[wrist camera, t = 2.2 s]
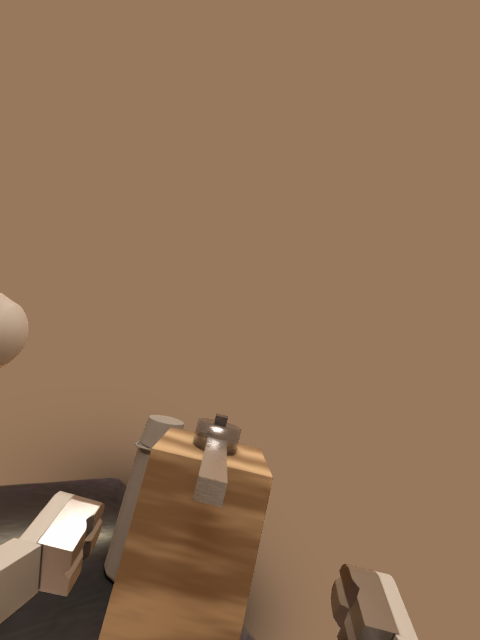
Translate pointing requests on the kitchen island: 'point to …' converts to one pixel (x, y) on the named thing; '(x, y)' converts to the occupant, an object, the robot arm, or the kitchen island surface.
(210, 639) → the wooden block
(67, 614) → the kitchen island surface
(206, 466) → the ratchet wrench
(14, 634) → the kitchen island surface
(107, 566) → the water bottle
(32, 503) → the kitchen island surface
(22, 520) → the kitchen island surface
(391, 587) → the robot arm
